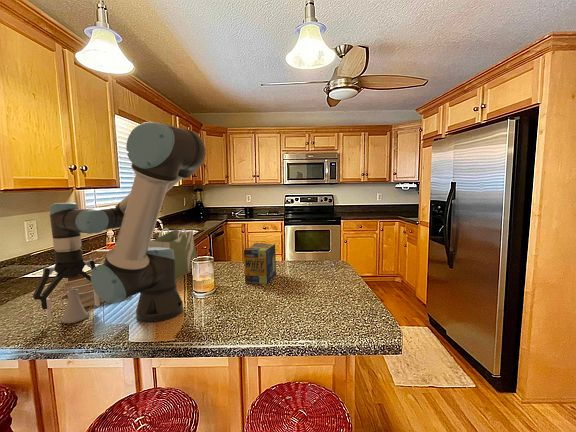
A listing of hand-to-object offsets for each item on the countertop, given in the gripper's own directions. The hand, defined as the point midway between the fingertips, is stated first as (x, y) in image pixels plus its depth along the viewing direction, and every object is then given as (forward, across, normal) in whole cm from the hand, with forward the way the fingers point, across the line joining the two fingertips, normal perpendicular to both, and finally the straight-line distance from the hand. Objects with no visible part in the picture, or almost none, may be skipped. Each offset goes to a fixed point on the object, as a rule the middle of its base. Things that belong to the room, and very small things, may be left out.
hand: (74, 311), depth 103 cm
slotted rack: (+3, -13, -21) cm, 25 cm away
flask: (+3, 0, 0) cm, 3 cm away
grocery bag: (+3, -49, -25) cm, 55 cm away
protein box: (+3, -69, +18) cm, 71 cm away
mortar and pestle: (+3, -12, -50) cm, 52 cm away
